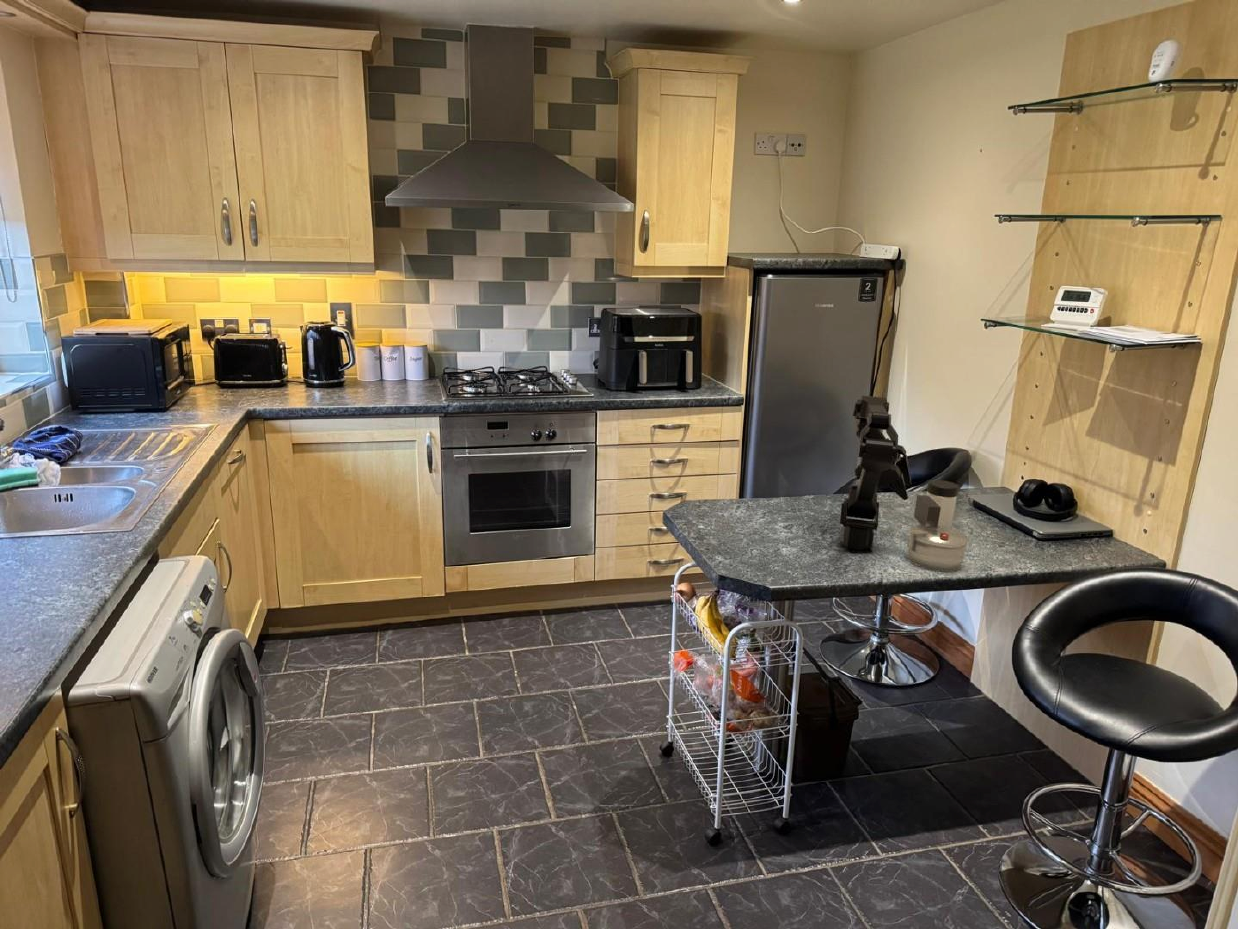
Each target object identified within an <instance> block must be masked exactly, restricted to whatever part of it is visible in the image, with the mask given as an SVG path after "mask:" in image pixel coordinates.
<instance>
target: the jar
mask: <svg viewBox="0 0 1238 929" xmlns="http://www.w3.org/2000/svg"><path fill="white" fill-rule="evenodd" d="M959 488H960V487H959V485H958V484H956V483H954V482H952V481H948V480H943V479H942V480H941V479H932V480H929V481H928V482H927V485H926V493H925V496H929V497H930V498H931V499H932V500H933V501H935V502H936V503H937V504H938V505H939V506H940V507H941V510H940V516H939V521H938V526H942V527H947V528H950V529H952V525H953V520H954V516H955V515H954V514H955V508H956V504H957V498H958V494H959Z"/></svg>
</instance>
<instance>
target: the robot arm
mask: <svg viewBox="0 0 1238 929" xmlns="http://www.w3.org/2000/svg"><path fill="white" fill-rule="evenodd" d="M889 410H890V402H888V399H887V397H882V396H881V397H880V396H872V395H861V397H860V399H857V400H856V402H855V403H854V407H853V411H852V417H853V418H854V419H855V420H856V421H855V424H854V428H855V436H856V437H857V439H858V444H857V445H858V447H857V448H858V450H857V457H858V458H859V464H858V465H857V467H855V468H854V476H855V477H856V478H857V480H859V481H858V484H857V486H856V485H852V486H850V489H849V492H848V495H847V498H846V497H845V498H844V500H843V502H842V503H841V506H840V515H839V516H840V517H839V524H840V525H842V527H844V531H843V537H842V541H839V545H841V546H842V548H843V549H845V550H846V551H847V552H848V553H850V554H851V553H853V554H858V553H865V554H866V553H869V554H871V553H873V552H874V550H873V549H872V548H873V543H874V537H875V533H874V531H878V526H879V511H880V510H879V509H880V503H879V501H878V494H877V493H878V492H877V488H888V489H890V490H891V491H892V492H893V493H895V494H896V495H897V496H898V497H900V498H901V499H902V501H903V500H904V501H907V500H909V496H908V495H909V494H908V491H907V487H910V486H912V480H911V474H910V468H909V467H910V466H909V461H908V455H907V450H906V448H905V447H904V446H903V445H900V444H899V434H898V432H897V430H895V428H894V426H893V425H892V414H891V413H890V414H889ZM882 431H885V434H887V436H888V437H887V438H886V436H885V435H884V434H883V432H882ZM906 486H907V487H906Z"/></svg>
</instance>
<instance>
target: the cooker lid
mask: <svg viewBox="0 0 1238 929" xmlns="http://www.w3.org/2000/svg"><path fill="white" fill-rule="evenodd" d="M940 510H941V507H940V506H939V505H938V504H937V503H936V502H935V501H933V500H932V499H931V498H930V497H929V496H926V495H922V494H921V495H920V494H917V495H916V500H915V507H914V511H913V512H914V513H913V518H914V519H915V520H916V521H917V522H918V523H919V524H918V525H914V526H912V527H911V528H910V531H909V534H910V535H911V537H912V538H914V539H915V540H917V541H919V542H922V543H925V544H928V545H932V546H936V547H943V548H960V547H964V546H967V545H968V541H969V539H968V537H967V535H966V534H964V533H963V532H961V531H958V530H956V529H953V528H951V529H950V528H947V527H942V526H938V521H939V516H940Z"/></svg>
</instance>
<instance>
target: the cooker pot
mask: <svg viewBox="0 0 1238 929" xmlns="http://www.w3.org/2000/svg"><path fill="white" fill-rule="evenodd" d="M966 546H967V545H966ZM966 546H964V547H960V548H943V547H936V546H932V545H928V544H925V543H922V542H919V541H917V540H915V539H914V538H912V537H911V535H910V536H909V543H908V550H907V554H906V555H907V556H906V557H907V558H908V559H909V560H910V561H911V562H910V561H909V560H908V559H907V558H906V559H907V560H908V561H909V562H910V563H912V562H913V563H914V565H915V564H917V565H920V566H922V567H924V568H923V569H926V568H927V569H926V570H931V571H935V570H937V571H936V572H943V573H944V572H946V573H947V572H948V573H949V572H951V573H952V572H957V571H959V570H961V569H962V568H963V564H964V558H965V552H966V549H967V548H966ZM913 563H912V564H913ZM917 565H916V566H917ZM920 566H919V567H920ZM922 567H921V568H922Z"/></svg>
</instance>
